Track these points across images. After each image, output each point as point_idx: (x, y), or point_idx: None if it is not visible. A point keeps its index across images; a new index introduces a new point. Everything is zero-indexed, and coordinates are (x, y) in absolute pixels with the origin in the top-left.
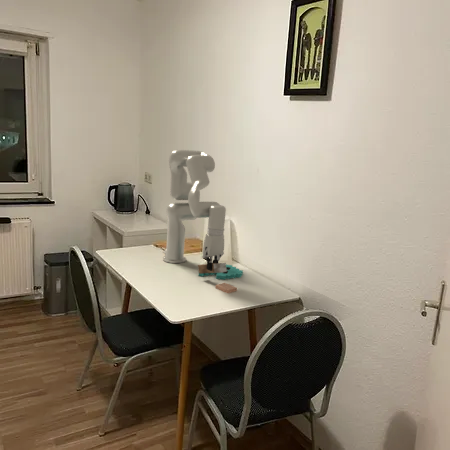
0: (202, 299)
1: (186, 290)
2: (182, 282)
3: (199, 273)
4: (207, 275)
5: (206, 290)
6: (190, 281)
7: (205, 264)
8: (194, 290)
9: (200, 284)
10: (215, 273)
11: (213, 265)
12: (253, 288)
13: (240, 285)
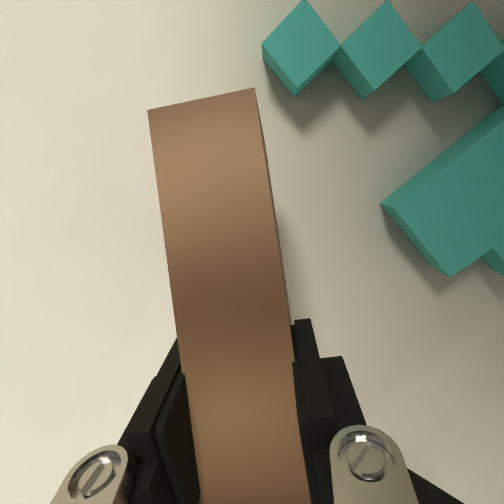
0: (51, 484)
1: (5, 339)
2: (31, 176)
3: (269, 56)
4: (358, 93)
5: (141, 392)
6: (109, 181)
7: (214, 246)
8: (60, 360)
9: (158, 279)
10: (486, 71)
11: (205, 498)
12: (478, 490)
13: (443, 416)
